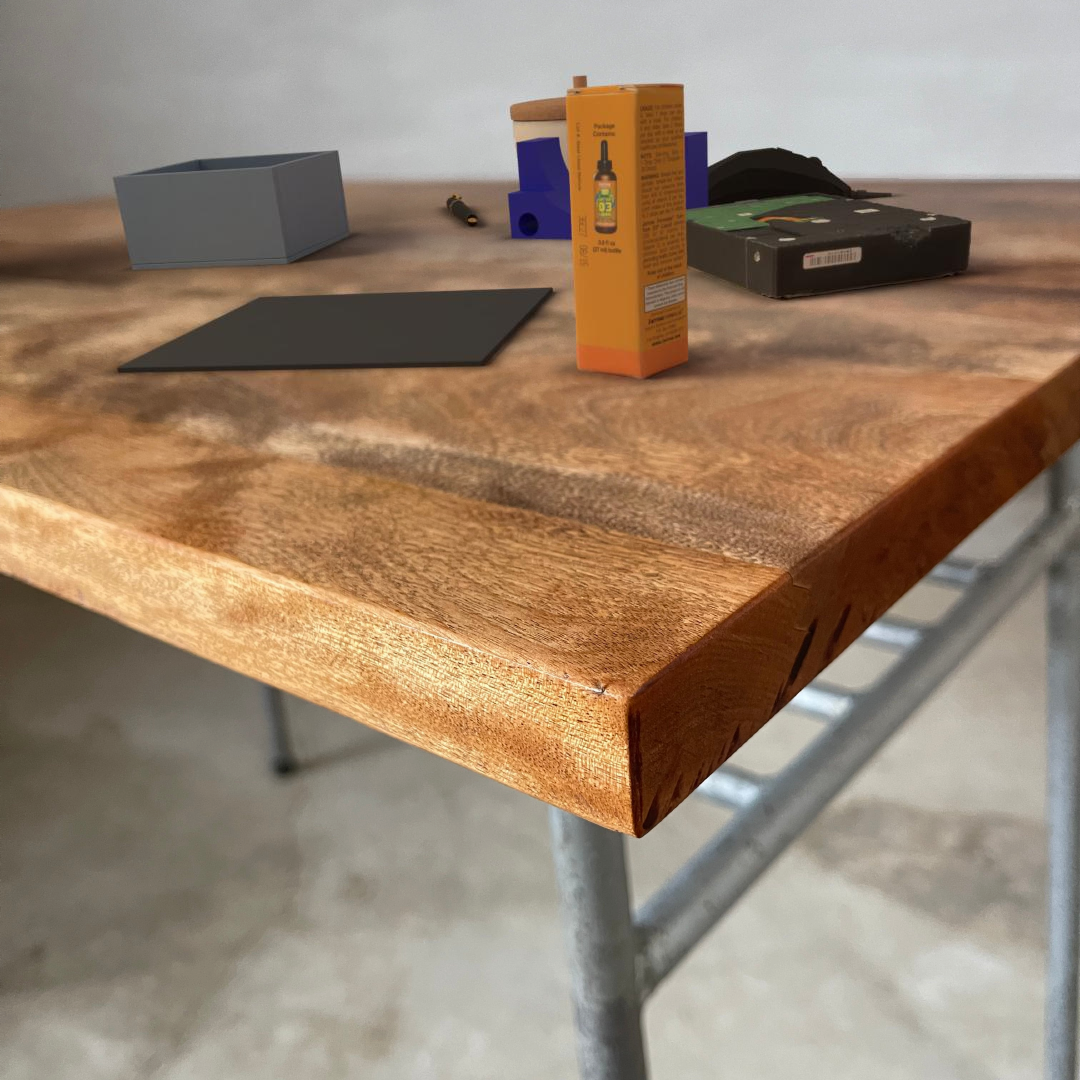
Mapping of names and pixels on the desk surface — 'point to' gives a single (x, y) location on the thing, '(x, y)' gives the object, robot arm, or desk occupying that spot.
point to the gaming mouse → (774, 177)
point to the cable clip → (548, 186)
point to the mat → (351, 332)
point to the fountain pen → (461, 210)
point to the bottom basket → (233, 210)
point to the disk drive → (822, 244)
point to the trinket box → (544, 119)
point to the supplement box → (628, 227)
